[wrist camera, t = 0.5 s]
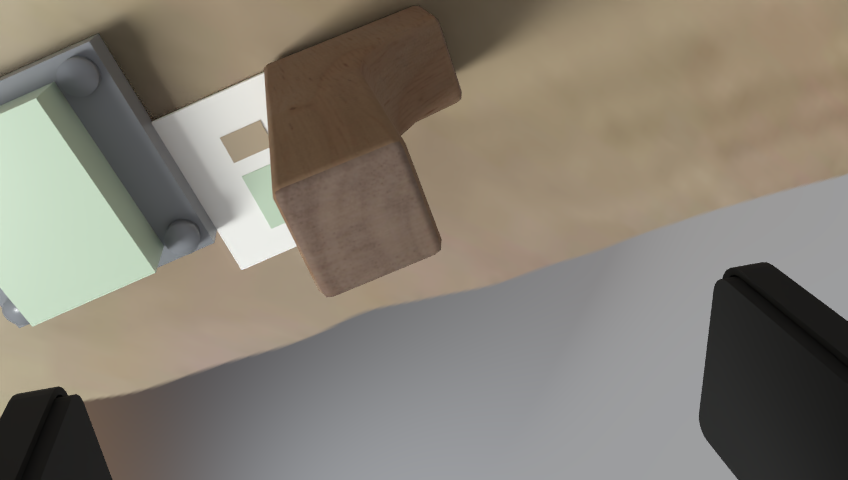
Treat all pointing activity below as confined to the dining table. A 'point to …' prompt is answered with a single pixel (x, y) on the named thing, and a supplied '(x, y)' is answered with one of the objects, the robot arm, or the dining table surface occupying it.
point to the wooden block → (357, 146)
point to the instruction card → (230, 167)
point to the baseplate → (120, 145)
